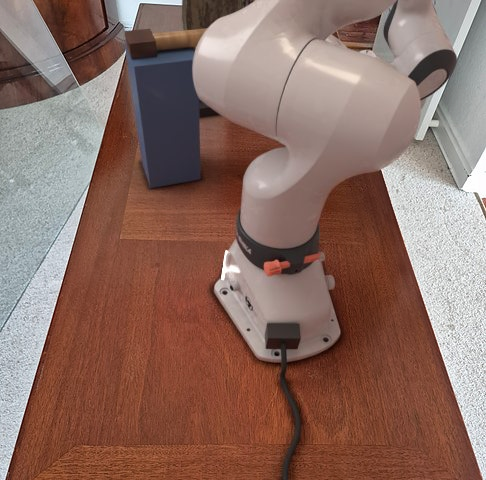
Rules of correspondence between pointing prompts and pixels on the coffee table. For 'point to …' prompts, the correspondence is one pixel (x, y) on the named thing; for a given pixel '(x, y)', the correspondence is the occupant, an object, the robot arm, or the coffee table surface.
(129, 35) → the wooden mallet
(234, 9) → the tabletop clock
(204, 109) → the trigger box
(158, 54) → the pedestal
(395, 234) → the coffee table surface
